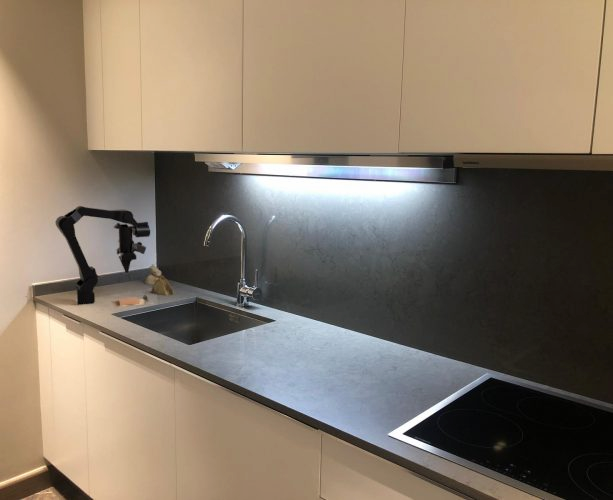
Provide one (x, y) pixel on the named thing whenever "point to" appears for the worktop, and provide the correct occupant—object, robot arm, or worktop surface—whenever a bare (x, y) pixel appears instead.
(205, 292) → the worktop surface
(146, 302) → the turner
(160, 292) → the rock
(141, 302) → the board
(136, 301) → the picture frame
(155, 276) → the beige lumpy chunk
